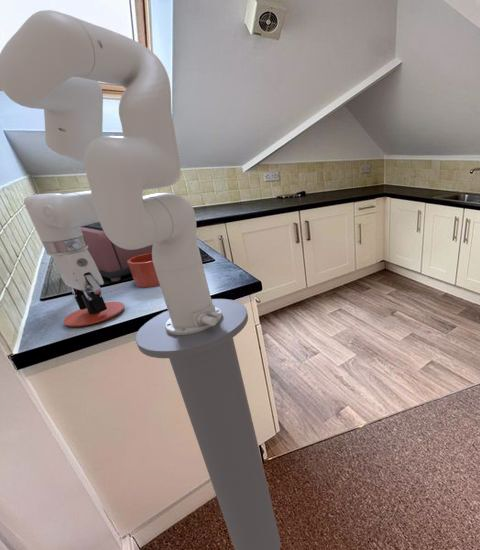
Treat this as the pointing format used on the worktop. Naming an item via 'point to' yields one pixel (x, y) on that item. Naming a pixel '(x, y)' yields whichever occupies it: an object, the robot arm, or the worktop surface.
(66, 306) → the worktop surface
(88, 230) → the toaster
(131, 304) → the worktop surface
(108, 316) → the lid
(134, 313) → the worktop surface
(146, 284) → the pot
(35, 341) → the worktop surface
